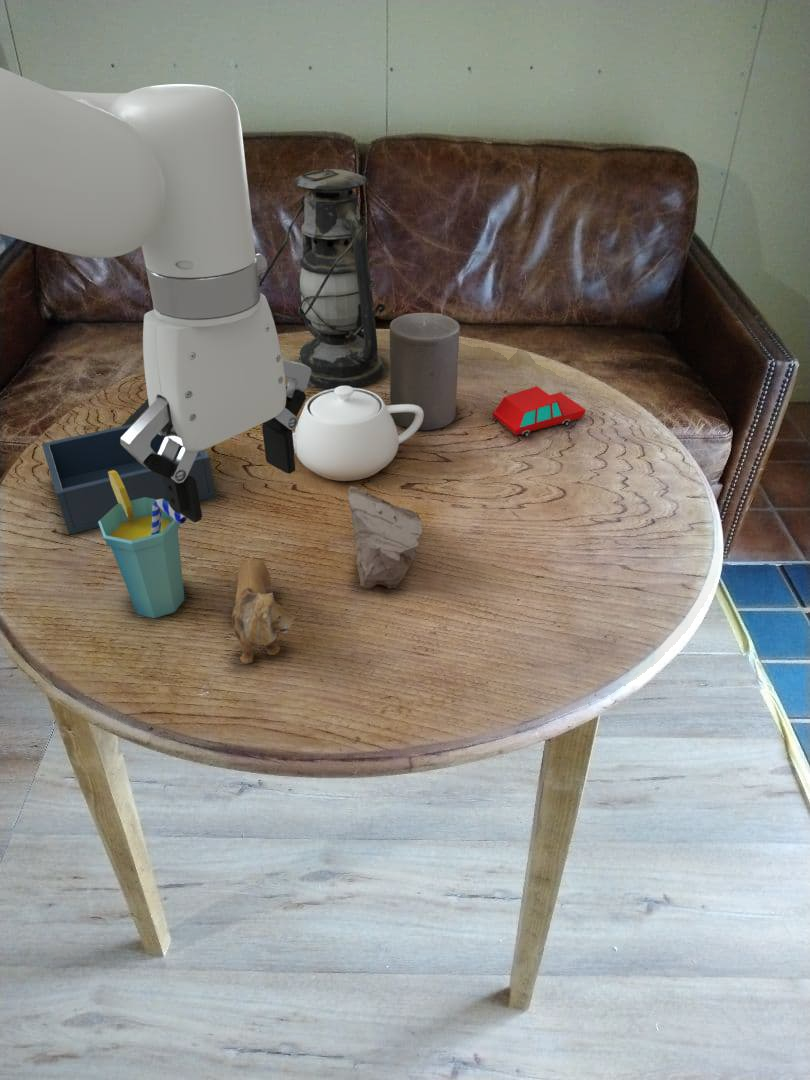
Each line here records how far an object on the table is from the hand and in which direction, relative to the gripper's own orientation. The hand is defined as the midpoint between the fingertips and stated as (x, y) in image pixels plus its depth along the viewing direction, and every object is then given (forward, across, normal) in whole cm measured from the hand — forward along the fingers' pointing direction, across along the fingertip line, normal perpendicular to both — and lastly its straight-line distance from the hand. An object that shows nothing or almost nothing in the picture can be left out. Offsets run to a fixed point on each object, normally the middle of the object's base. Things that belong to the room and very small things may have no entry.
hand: (236, 489), depth 66 cm
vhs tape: (+19, -22, -47) cm, 55 cm away
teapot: (+19, -30, -19) cm, 40 cm away
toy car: (+19, -57, -7) cm, 60 cm away
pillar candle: (+19, -47, -20) cm, 55 cm away
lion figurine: (+19, -2, -2) cm, 19 cm away
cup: (+19, +3, -13) cm, 23 cm away
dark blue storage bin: (+19, -7, -34) cm, 40 cm away
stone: (+19, -18, -1) cm, 27 cm away
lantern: (+19, -47, -41) cm, 65 cm away
